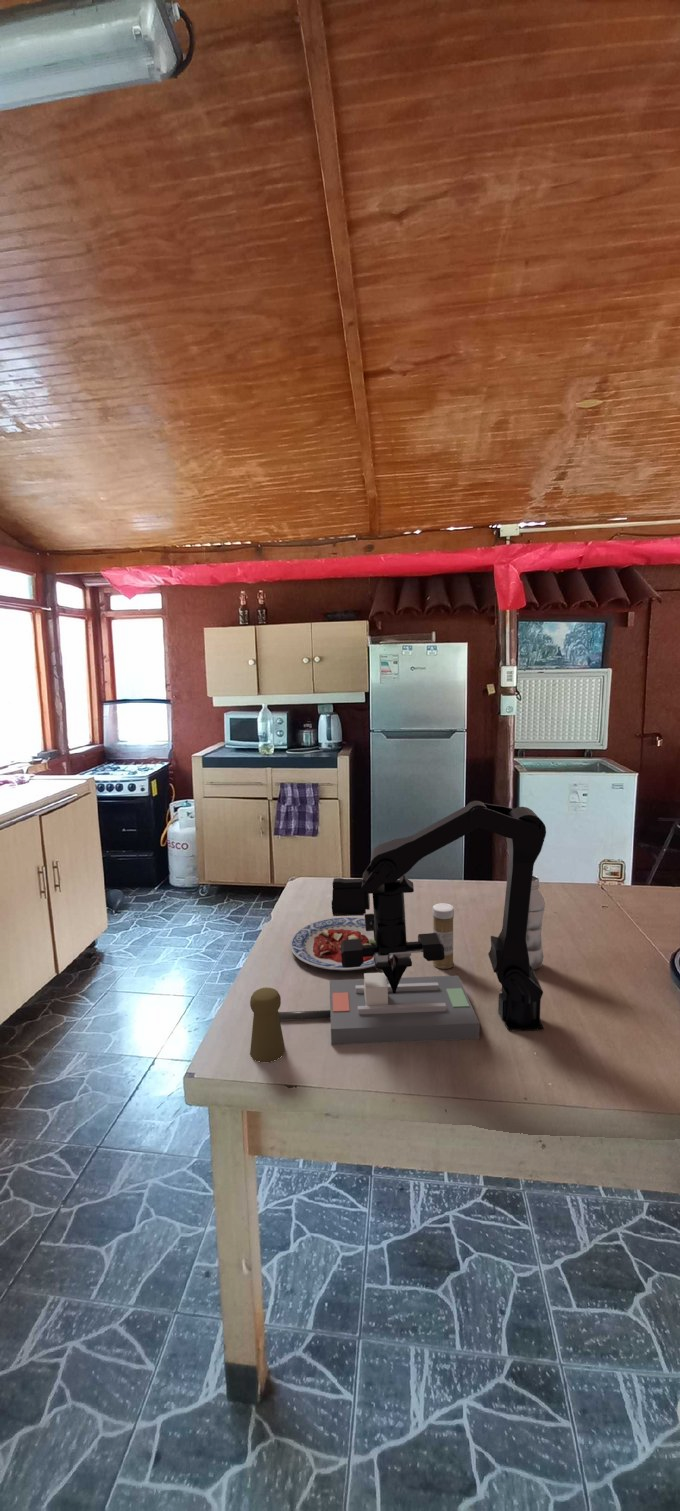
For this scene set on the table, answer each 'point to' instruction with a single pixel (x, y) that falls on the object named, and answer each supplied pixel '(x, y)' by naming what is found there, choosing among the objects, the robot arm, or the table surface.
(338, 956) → the ceramic plate
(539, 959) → the plastic bottle
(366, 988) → the switch knob
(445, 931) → the sprinkles bottle
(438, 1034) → the slider switch base
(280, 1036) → the olive peg pawn
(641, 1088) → the table surface
